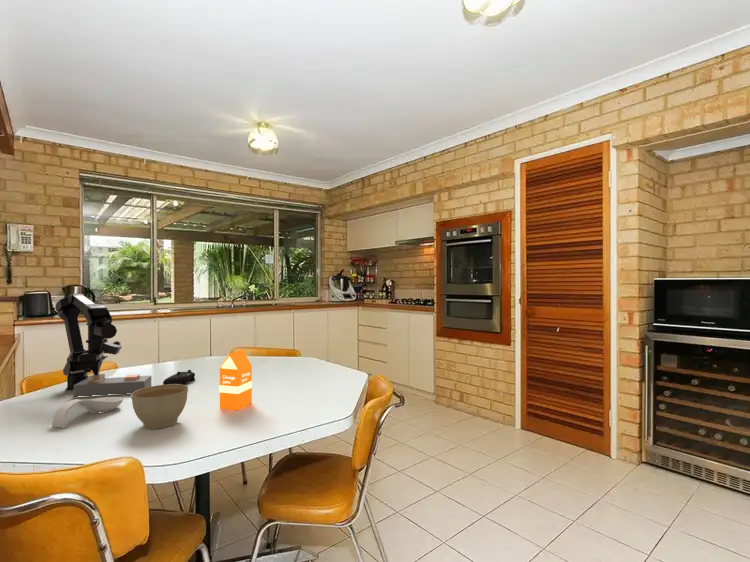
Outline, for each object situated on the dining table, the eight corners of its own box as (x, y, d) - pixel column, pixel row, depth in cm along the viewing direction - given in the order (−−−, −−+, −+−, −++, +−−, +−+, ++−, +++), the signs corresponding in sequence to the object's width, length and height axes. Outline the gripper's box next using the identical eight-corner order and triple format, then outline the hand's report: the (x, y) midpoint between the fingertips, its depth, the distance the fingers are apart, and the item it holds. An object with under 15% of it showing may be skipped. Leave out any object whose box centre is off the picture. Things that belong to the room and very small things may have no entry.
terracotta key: (124, 387, 164) (124, 377, 164) (128, 384, 168) (128, 375, 168) (136, 386, 165) (136, 376, 165) (139, 383, 169) (139, 374, 169)
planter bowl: (174, 412, 139) (174, 381, 139) (197, 422, 129) (197, 389, 129) (122, 425, 127) (122, 391, 127) (143, 437, 117) (143, 400, 117)
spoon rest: (101, 405, 149) (101, 386, 149) (130, 406, 147) (130, 386, 147) (41, 428, 125) (41, 405, 125) (75, 429, 124) (75, 406, 124)
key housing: (73, 397, 157) (73, 385, 157) (84, 391, 167) (84, 379, 167) (144, 393, 163) (144, 381, 163) (151, 387, 173) (151, 375, 173)
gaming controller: (177, 369, 189) (197, 365, 188) (179, 382, 189) (200, 378, 188) (159, 376, 175) (181, 372, 174) (162, 390, 175) (184, 386, 174)
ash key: (87, 386, 161) (87, 376, 161) (92, 383, 165) (92, 374, 165) (100, 385, 162) (100, 376, 162) (104, 383, 166) (104, 373, 166)
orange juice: (252, 403, 149) (252, 350, 149) (238, 410, 141) (238, 354, 141) (234, 401, 151) (234, 349, 152) (219, 409, 143) (219, 353, 143)
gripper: (110, 339, 156) (110, 379, 156) (126, 333, 175) (126, 369, 174) (77, 340, 154) (77, 380, 154) (97, 334, 172) (97, 370, 172)
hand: (96, 374), depth 163 cm, fingers closed
